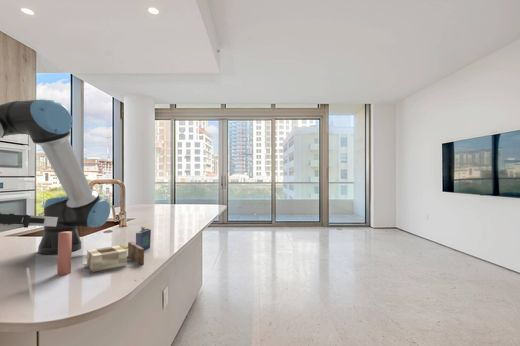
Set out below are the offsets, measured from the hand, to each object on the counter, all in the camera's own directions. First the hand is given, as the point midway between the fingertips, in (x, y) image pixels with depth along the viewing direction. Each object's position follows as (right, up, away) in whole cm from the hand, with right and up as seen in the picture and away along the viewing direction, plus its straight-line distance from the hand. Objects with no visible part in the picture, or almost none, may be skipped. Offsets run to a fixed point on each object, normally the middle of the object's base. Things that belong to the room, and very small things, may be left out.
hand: (48, 221), depth 82 cm
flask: (+15, -19, +33) cm, 41 cm away
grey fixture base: (+13, -18, +12) cm, 26 cm away
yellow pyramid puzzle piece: (+3, -20, +34) cm, 39 cm away
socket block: (+12, -17, +11) cm, 24 cm away
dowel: (+3, -18, +3) cm, 18 cm away
